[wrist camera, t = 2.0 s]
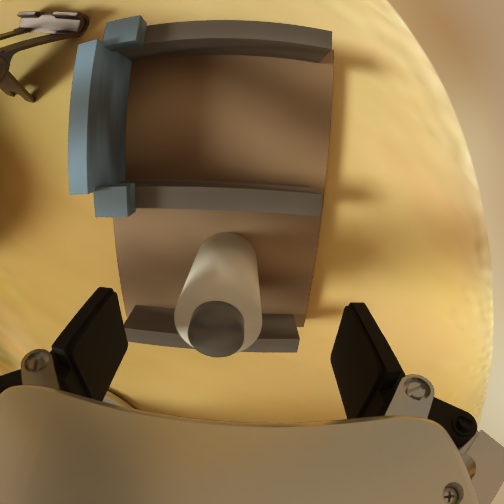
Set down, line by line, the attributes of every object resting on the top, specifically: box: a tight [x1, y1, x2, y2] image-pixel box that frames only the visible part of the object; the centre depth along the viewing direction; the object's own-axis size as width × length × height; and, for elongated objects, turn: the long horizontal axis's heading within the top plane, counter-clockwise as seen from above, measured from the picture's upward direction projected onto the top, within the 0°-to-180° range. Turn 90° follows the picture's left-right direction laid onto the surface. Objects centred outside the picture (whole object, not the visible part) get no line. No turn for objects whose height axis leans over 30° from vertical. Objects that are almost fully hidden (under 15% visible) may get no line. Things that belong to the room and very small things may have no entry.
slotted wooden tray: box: [68, 16, 334, 352], centre depth 15 cm, size 20×14×6 cm
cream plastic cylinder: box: [174, 232, 262, 357], centre depth 15 cm, size 4×4×8 cm
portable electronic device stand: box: [0, 11, 89, 103], centre depth 9 cm, size 9×8×8 cm
